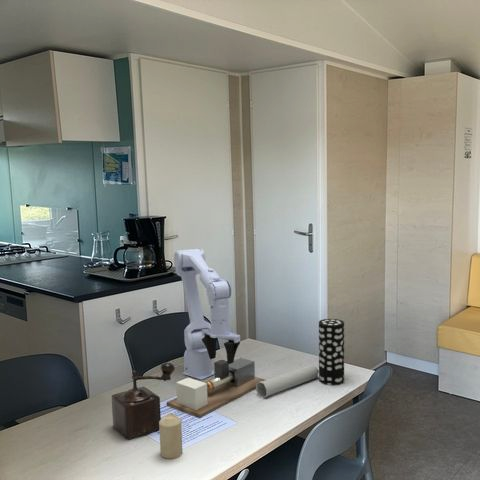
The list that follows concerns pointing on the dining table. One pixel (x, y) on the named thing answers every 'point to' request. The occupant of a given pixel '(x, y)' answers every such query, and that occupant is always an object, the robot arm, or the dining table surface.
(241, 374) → the sleeve
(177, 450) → the candle
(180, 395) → the cream rectangular block
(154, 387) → the dining table surface
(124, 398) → the manual coffee grinder
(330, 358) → the white-spotted black cylinder
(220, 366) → the inner tube
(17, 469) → the dining table surface
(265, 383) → the tube
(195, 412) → the base board
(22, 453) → the dining table surface
